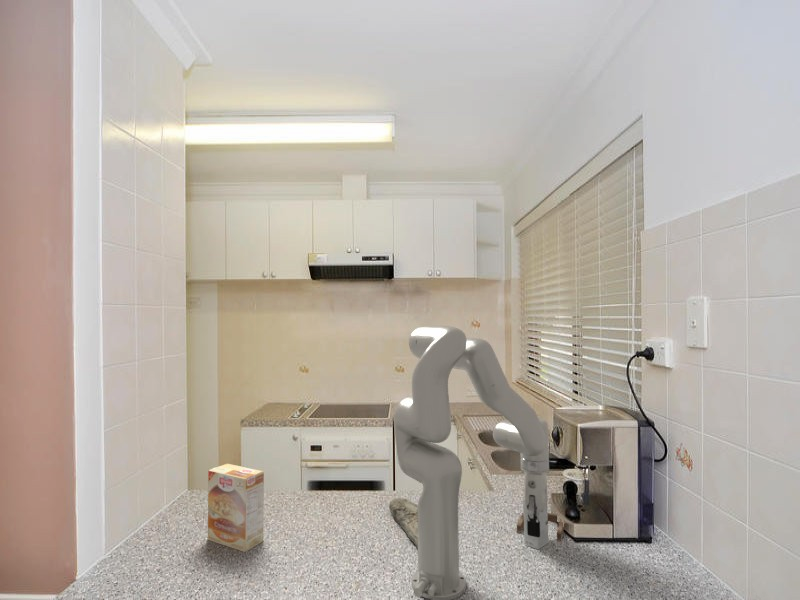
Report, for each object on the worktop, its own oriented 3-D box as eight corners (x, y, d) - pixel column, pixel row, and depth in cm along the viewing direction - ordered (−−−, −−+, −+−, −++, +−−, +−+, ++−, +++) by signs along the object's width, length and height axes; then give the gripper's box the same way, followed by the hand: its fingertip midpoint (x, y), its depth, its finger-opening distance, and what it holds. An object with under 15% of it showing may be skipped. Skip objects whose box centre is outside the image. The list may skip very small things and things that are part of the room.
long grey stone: (421, 570, 112) (457, 564, 115) (422, 549, 112) (458, 544, 115) (381, 507, 145) (410, 504, 148) (382, 490, 145) (411, 488, 148)
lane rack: (560, 541, 122) (560, 534, 122) (516, 532, 127) (516, 525, 127) (565, 522, 133) (565, 515, 133) (524, 515, 138) (524, 508, 139)
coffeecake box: (206, 540, 124) (207, 469, 125) (227, 529, 130) (227, 462, 131) (244, 553, 117) (245, 478, 118) (264, 541, 123) (264, 470, 124)
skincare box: (538, 550, 117) (537, 504, 118) (523, 544, 121) (522, 499, 121) (549, 542, 122) (548, 497, 122) (534, 536, 125) (533, 492, 125)
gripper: (544, 476, 113) (546, 547, 112) (552, 456, 128) (554, 519, 127) (514, 472, 116) (516, 541, 115) (526, 453, 131) (527, 514, 131)
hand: (536, 529), depth 121 cm, fingers closed on skincare box, 6 cm apart
